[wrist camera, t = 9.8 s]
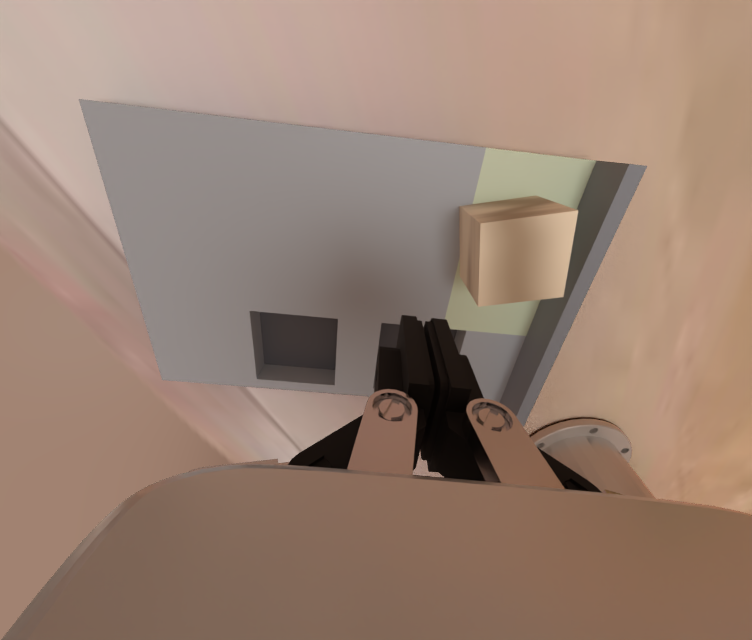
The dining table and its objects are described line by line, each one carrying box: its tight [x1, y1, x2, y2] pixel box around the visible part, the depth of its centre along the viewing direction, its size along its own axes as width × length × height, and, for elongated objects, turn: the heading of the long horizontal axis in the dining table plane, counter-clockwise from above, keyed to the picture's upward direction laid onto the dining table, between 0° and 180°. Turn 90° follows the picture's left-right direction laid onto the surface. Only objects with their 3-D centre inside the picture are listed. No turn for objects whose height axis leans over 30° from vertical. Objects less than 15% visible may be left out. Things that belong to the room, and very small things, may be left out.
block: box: [459, 195, 578, 307], centre depth 20 cm, size 5×5×5 cm
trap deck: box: [79, 99, 647, 427], centre depth 24 cm, size 32×21×6 cm, turn 84°
